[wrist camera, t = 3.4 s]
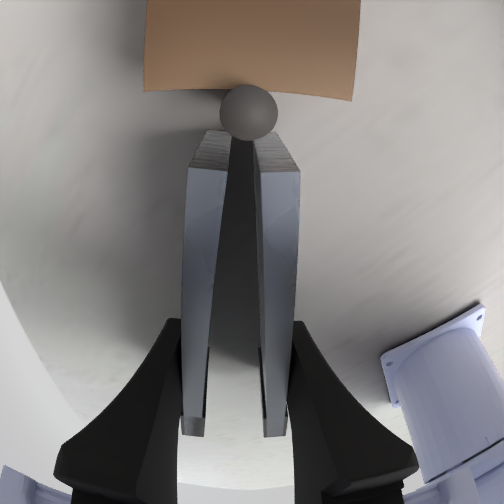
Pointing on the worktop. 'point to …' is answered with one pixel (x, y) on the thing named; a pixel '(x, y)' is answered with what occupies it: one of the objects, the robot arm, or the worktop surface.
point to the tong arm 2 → (275, 272)
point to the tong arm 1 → (200, 270)
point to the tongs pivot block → (252, 53)
